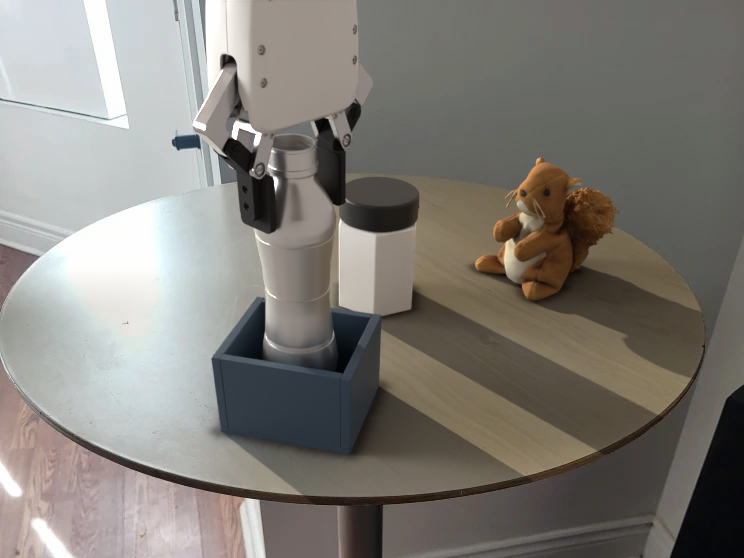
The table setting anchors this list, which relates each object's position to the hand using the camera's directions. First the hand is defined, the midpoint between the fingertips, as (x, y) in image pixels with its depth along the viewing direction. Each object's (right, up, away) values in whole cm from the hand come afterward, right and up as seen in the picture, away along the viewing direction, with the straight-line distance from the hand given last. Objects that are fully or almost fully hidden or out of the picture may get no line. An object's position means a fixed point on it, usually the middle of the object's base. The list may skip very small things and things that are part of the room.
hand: (294, 211), depth 58 cm
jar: (+6, 0, +28) cm, 29 cm away
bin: (-1, -13, +12) cm, 18 cm away
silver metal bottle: (0, -11, +10) cm, 15 cm away
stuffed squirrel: (+26, +5, +33) cm, 42 cm away
